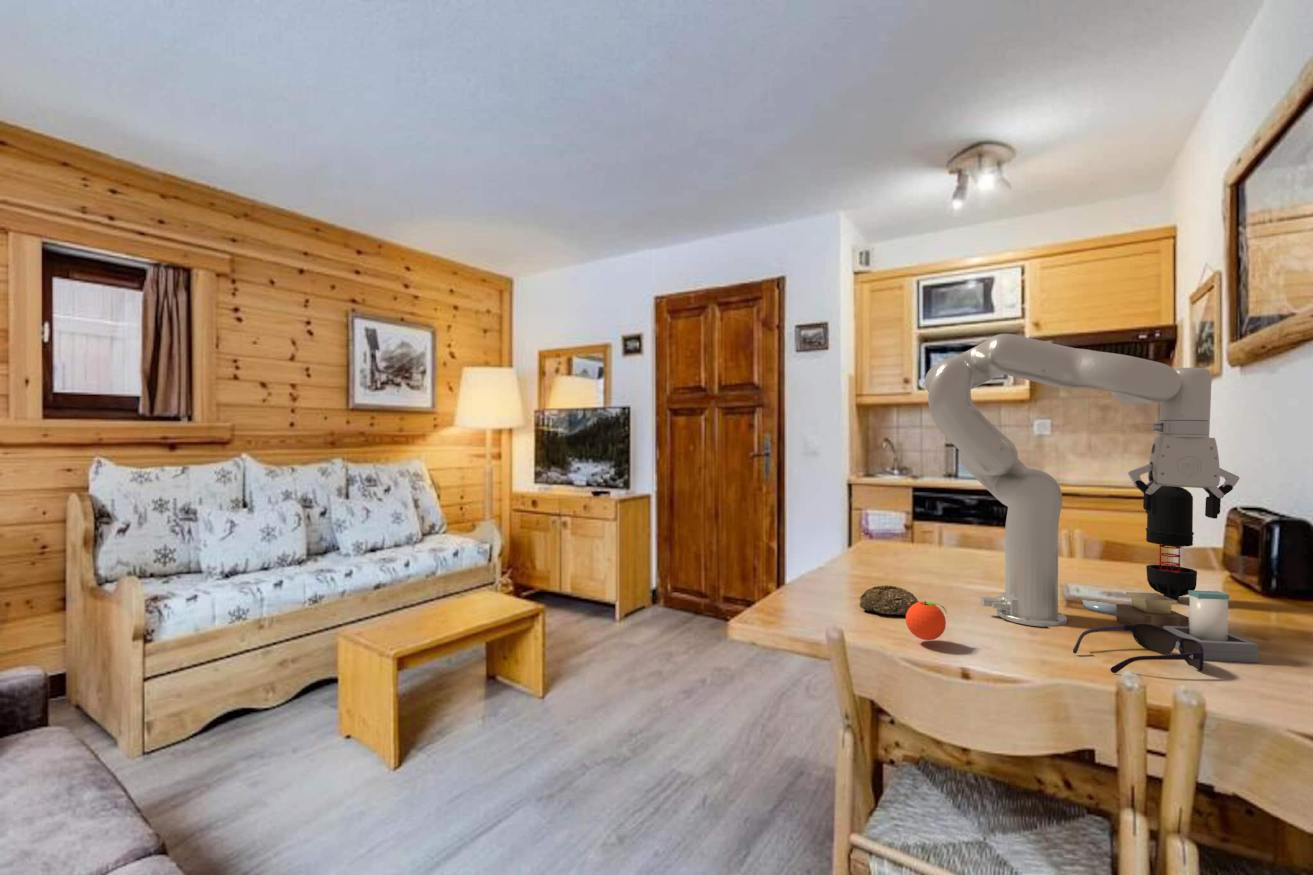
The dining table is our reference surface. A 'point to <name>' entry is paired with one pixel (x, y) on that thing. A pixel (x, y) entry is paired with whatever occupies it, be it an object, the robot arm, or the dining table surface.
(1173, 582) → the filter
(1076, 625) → the dining table surface
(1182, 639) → the sunglasses
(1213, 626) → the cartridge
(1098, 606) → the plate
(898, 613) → the dark brown domed lump
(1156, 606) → the button
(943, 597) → the dining table surface
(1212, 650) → the socket
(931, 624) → the clementine
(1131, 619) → the button housing
